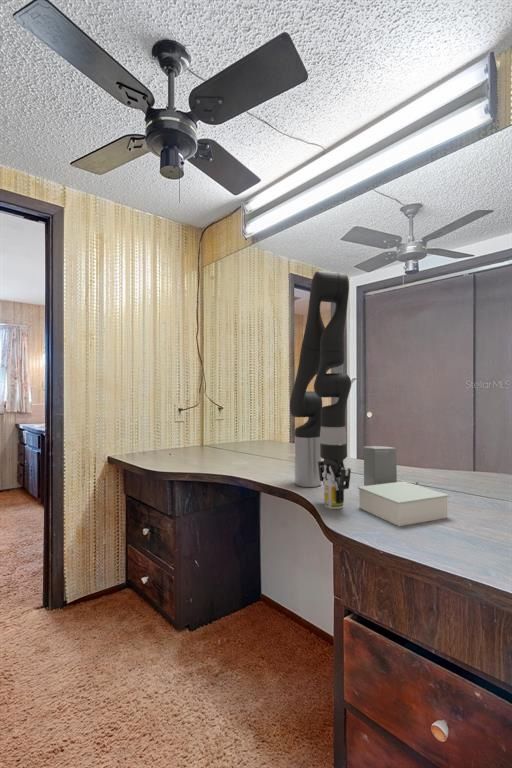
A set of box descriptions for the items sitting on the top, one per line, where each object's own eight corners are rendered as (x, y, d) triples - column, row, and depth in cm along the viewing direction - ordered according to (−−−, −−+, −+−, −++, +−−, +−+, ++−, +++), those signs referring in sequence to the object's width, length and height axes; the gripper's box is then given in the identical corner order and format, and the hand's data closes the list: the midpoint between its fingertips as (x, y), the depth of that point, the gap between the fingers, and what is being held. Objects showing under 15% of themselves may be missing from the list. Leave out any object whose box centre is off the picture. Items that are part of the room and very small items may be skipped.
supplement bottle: (321, 507, 113) (320, 474, 113) (329, 502, 117) (329, 470, 118) (338, 510, 110) (338, 476, 110) (346, 506, 114) (345, 473, 114)
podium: (358, 507, 112) (357, 486, 112) (403, 501, 118) (403, 481, 118) (398, 526, 97) (398, 502, 97) (449, 518, 103) (448, 495, 103)
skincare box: (374, 501, 119) (374, 448, 119) (362, 495, 126) (361, 445, 126) (399, 498, 121) (398, 447, 121) (385, 492, 128) (384, 444, 128)
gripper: (309, 439, 119) (310, 495, 119) (335, 446, 106) (336, 508, 106) (330, 438, 122) (331, 492, 122) (359, 444, 109) (359, 505, 108)
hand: (333, 499), depth 114 cm, fingers closed on supplement bottle, 5 cm apart
